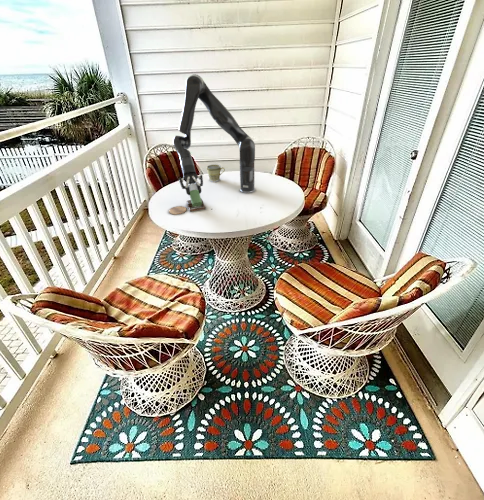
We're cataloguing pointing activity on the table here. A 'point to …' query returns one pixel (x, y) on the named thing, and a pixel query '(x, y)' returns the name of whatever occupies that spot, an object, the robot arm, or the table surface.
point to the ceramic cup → (214, 172)
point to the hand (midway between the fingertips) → (194, 193)
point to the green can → (194, 195)
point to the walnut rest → (195, 208)
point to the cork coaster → (177, 210)
